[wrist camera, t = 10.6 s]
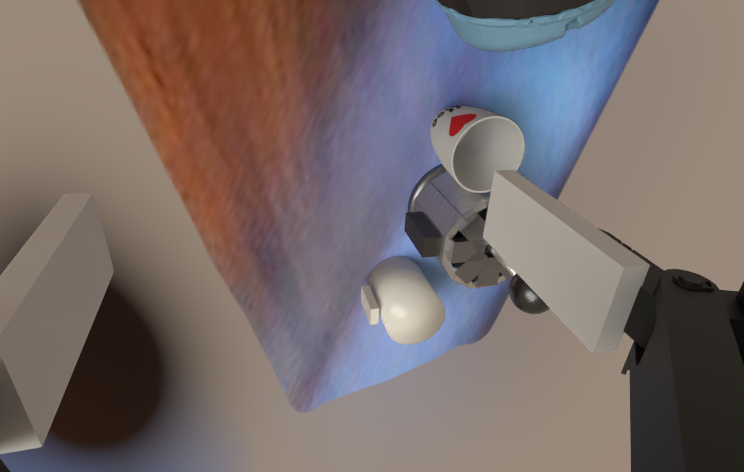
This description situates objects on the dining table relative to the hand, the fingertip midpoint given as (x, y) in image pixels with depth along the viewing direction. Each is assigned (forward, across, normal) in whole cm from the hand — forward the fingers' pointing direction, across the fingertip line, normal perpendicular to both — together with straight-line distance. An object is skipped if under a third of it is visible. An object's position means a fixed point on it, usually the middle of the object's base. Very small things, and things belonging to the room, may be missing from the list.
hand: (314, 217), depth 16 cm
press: (+37, +23, -18) cm, 47 cm away
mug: (+37, +16, -29) cm, 49 cm away
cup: (+37, +22, -8) cm, 43 cm away
